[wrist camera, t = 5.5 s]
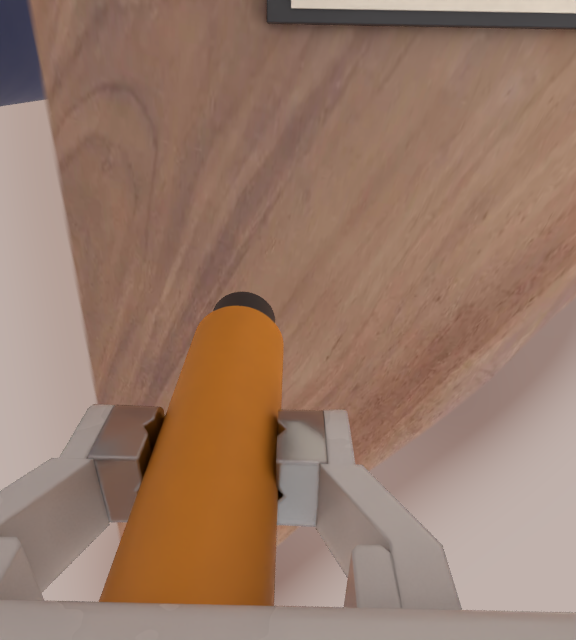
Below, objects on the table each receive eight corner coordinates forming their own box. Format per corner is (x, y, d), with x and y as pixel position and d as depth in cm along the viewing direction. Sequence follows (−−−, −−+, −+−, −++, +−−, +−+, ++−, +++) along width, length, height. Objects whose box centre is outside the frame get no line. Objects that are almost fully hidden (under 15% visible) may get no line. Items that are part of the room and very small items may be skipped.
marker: (204, 353, 16) (-28, 1127, 4) (198, 279, 14) (-160, 1114, 3) (285, 355, 16) (262, 1133, 4) (286, 281, 14) (260, 1126, 3)
